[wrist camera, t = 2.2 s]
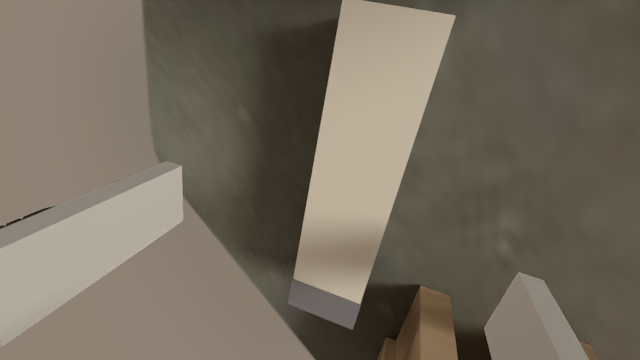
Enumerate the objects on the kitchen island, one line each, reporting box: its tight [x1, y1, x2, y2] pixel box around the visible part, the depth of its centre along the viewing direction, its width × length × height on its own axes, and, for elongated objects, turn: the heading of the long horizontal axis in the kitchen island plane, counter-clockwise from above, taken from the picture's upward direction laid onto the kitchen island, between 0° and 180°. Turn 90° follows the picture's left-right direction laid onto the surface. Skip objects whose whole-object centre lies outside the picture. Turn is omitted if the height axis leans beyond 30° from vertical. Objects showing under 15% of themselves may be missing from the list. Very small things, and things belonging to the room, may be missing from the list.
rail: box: [288, 0, 456, 330], centre depth 16 cm, size 16×4×5 cm, turn 170°
